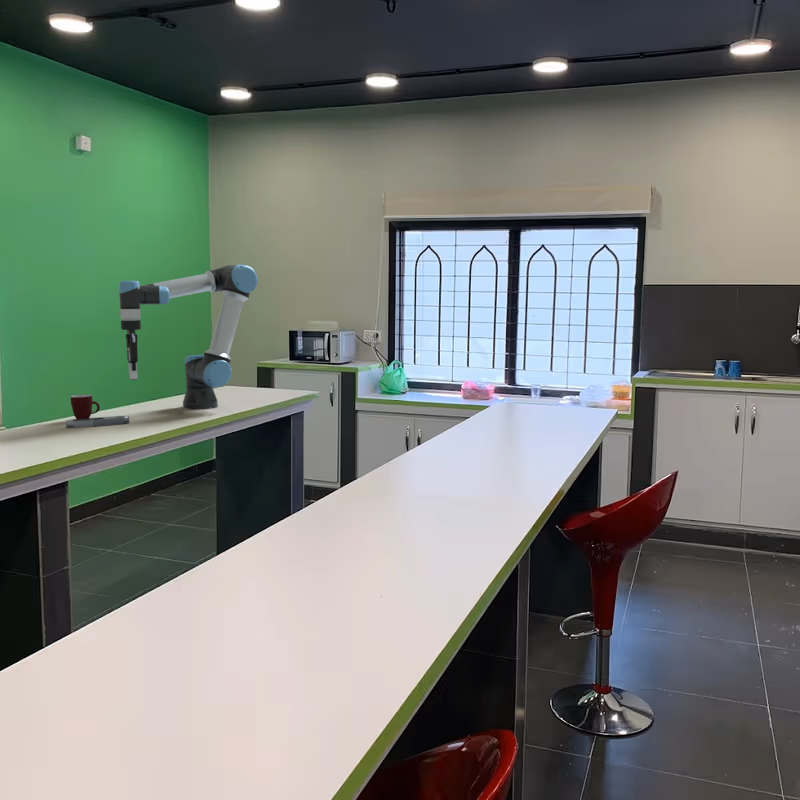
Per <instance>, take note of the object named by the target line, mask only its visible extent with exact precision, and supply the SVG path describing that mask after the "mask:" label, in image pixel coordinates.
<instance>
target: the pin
mask: <svg viewBox="0 0 800 800" xmlns="http://www.w3.org/2000/svg"><path fill="white" fill-rule="evenodd" d="M127 349H128V350H129V348H127V347H126V350H127ZM129 361H130V351H129ZM129 369H130V363H129V364H128V370H129ZM129 380H130V381H137V380H138V379H130V378H129Z"/></svg>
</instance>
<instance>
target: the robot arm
mask: <svg viewBox="0 0 800 800" xmlns="http://www.w3.org/2000/svg"><path fill="white" fill-rule="evenodd" d="M118 284H119V288H118V293H119V306H120V307H119V308H120V310H119V312H118V314H119V315H120V319H121V321H120V329H121V330H122V331H126V334H125V341H126V344H125V345H126V353H127V354H126V356H127V358H126V359H127V362H128V365H129V363H130V369H129V368H128V378H129V380H130V379H137V380H138V378H139V376H138V362H139V360H138V356H139V355H138V334H137V333H136V331H137V330H141V329H142V324H141V323H142V322H141V318H142V317H141V315H142V314H141V305H142V306H143V305H153V306H154V305H161V306H162V305H167V304H169V301H170V299H174V298H175V299H176V298H179V297H184V296H189V295H190V296H191V295H195V294H200V293H205V292H210V293H218V292H219V293H220V292H222V294H223V300H222V302H221V306H220V310H219V314H218V316H217V317H218V318H217V320H216V325H215V328H214V331H213V333H212V338H211V341H210V346H209V349H207V350H206V351H204V352H203V354H198V355H196V354H195V355H188V356H186V357H185V359H184V370H185V371H184V372H185V384H186V385H185V386H186V387H185V394H184V396H183V397H184V398H183V401H182V408H183V409H188V410H189V409H190V410H203V409H213V408H216V407H219V404H218V402H219V401H218V399H217V395H216V392H215V390H214V388H218V387H223V386H225V385H226V384H228V382H229V381H230V379H231V378H232V374H233V371H232V368H231V362H232V358H231V357H230V351H231V349H232V345H233V341H234V337H235V334H236V330H237V326H238V322H239V320H240V316H241V313H242V310H243V305H244V302H246V301H248V300H249V297H250V295H251V292H253V291H254V290H255V289H256V288H257V286H258V275H257V273H256V271H255V269H253V268H252V267H251V266H249V265H246V264H233V265H232V264H229V265H225V266H222V267H218V268H214V269H211V270H207V271H205V272H204V273H202V274H196V275H192V276H187V277H180V278H176V279H175V278H174V279H170V280H165V281H160V282H154V283H149V284H142V285H140V282H139V281H138V280H121V281H119V283H118ZM127 348H129V350H128V349H127ZM129 351H130V361H129Z"/></svg>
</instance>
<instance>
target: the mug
mask: <svg viewBox="0 0 800 800" xmlns="http://www.w3.org/2000/svg"><path fill="white" fill-rule="evenodd" d="M70 405H71V409H72V413H73V416H74V418H75V419H85V418H91V415H93V414H94V415H95V414H97V413H98V412H100V404H99V403H98V402H97V401H96V400H95V401H94V399H93V394H75V395H71V396H70ZM93 405H96V410H95V411H93V409H92V408H93Z"/></svg>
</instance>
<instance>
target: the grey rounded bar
mask: <svg viewBox="0 0 800 800" xmlns="http://www.w3.org/2000/svg"><path fill="white" fill-rule="evenodd" d="M127 424H130V416H129V415H113V416H100V417H99V416H98V417H90V418H85V419H76V418H75V419H74V418H73V419H72V418H71V419H67V420H65V428H66V429H77V428H78V429H79V428H89V427H101V426H102V427H103V426H115V425H127Z"/></svg>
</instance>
